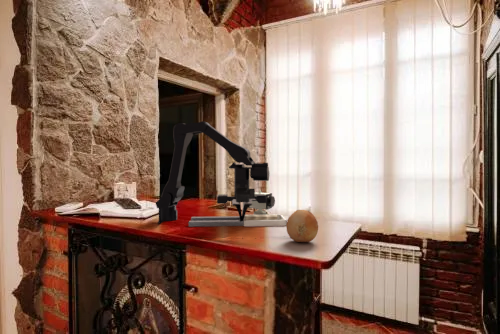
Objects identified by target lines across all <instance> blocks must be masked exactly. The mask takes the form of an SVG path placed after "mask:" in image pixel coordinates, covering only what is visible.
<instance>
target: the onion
mask: <svg viewBox="0 0 500 334" xmlns="http://www.w3.org/2000/svg"><path fill="white" fill-rule="evenodd" d="M286 220H287V225H286V226H285V227H286V232H287V235H288V236H289V238H290V239H291V240H293V241H294V242H295V243H310V242H312V241H313V240H315V238H316V237H317V236H318V235H317V234H318V232H319V223H318V222H319V221H318V219H317V218H316V216H315V214H314V213H312V212H311V211H310V210H307V209H297V210H295V211H294V212H292V213H291V214H290V215H289V216H288V218H287V219H286Z"/></svg>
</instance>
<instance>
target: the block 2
mask: <svg viewBox="0 0 500 334" xmlns="http://www.w3.org/2000/svg"><path fill="white" fill-rule="evenodd" d="M256 220H267V216H266V215H256Z"/></svg>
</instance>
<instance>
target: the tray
mask: <svg viewBox="0 0 500 334" xmlns="http://www.w3.org/2000/svg"><path fill="white" fill-rule="evenodd" d="M260 215H277V220H245V217H244V227H286V225H287V220H288V219H286V217H284V216H283V214H280V213H278V214H277V213H276V214H275V213H272V214H270V213H269V214H268V213H267V214H260Z"/></svg>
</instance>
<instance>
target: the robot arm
mask: <svg viewBox="0 0 500 334" xmlns="http://www.w3.org/2000/svg"><path fill="white" fill-rule="evenodd" d="M172 134H173V136H172V137H173V143H174V149H173V155H172V161H171V165H170V166H171V167H170V171H169V177H168V181H167V182H166V184H165V186H164V188H163V191H162V193H161V197H160V198H159V199H158V200H157V201H156V202H155V206H156V208H157V209H158V221H157V224H162V223H163V222H172V221H177V220H178V209H177V205H179V204H178V203H179V201H180V200H181V199H182V198H183V197H184V191H185V186H184V185H182V183H181V182H182V175H183V169H184V166H185V165H184V164H185V160H186V154H187V148H188V146H189V145H190V143H191V141H192V138H193V136H194V135H199V134H204V135H206V136H207V137H208V138H210V139H211V140H212V141H213V142H215V143H216V144H218V145H219V146H220V147H222V148H223V149H224V150H225V151H226V152H227V154H228V156H230V157H231V158H232V159H233V160H234V161H235V162H232V164H230V166H229V167H228V169H230V170H232V169H234V171H233V172H234V179H233V180H234V192H233V193H234V196H232V195H231V196H229V195H228V193H227V194H226V193H225V194H223V193H222V194H218V195H217V196H216V203H217V204H219V205H221V204H223V205H224V204H227V203H228V202H232V203H231V204H232V206H233V207H235V208H236V210H237V211H236V212H238V216H240V220H244V217H245V215H246V213H247V210H248V209H249V208H248V207H249V206H251V205H252V203H251V202H252V201H257V202H258V203H267V197H266V196H265V195H264V194H256V195H255V191H256V189H255V188H250V179H252V180H253V181H254V182H255V181H256V182H257V181H258V182H262V181H263V182H269V180H270V167H269V163H268V162H263V163H262V162H261V163H259V162H258V163H257V162H255V160H254V159H253V158H252V157H251V151H250V150H249V149H248V148H247V147H245V146H242V145H240V144H238V143H237V142H234V141H232V140H231V139H229V138H228V137H227V136H226V135H224V134H223V133H221V132H220V131H219V130H217V129H216V128H215V127H213V126H212V125H211V124H210V123H209V122H206V121H200V122H199V121H198V122H191V123H189V122H188V123H184V122H178V123H176V124H175V125H174V126H173V133H172ZM249 166H250V167H249ZM241 203H242V205H241Z"/></svg>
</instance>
